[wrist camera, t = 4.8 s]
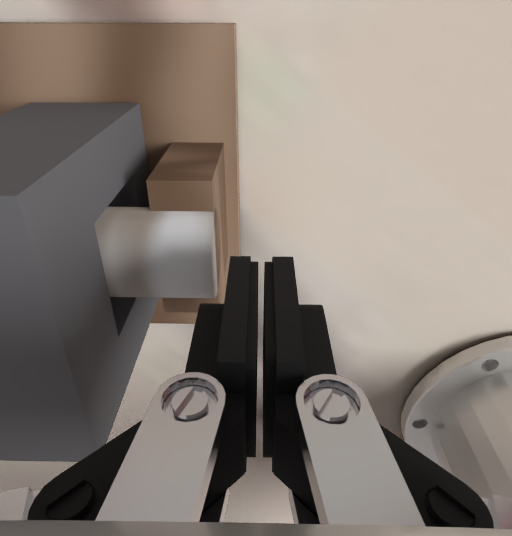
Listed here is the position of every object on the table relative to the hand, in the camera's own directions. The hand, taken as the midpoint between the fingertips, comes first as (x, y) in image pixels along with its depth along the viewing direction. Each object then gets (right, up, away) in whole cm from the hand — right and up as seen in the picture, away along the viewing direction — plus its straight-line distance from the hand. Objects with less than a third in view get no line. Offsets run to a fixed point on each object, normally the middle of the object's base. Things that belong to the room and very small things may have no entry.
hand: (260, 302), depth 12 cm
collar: (-6, +4, +6) cm, 9 cm away
